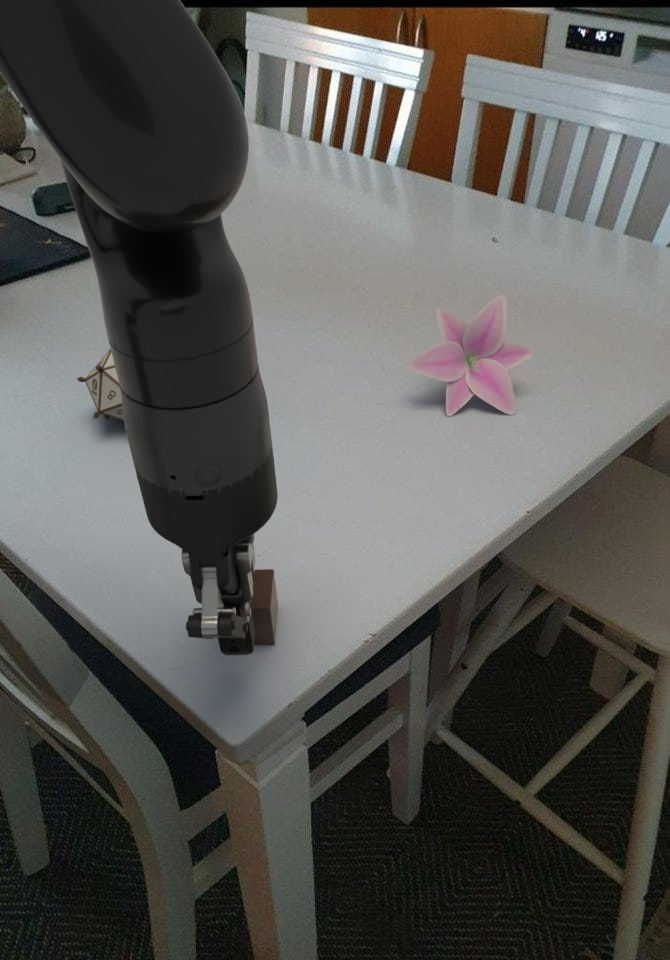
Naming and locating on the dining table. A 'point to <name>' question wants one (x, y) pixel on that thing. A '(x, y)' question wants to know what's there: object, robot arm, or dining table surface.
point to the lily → (474, 358)
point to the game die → (105, 388)
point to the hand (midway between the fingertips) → (238, 646)
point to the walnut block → (264, 606)
